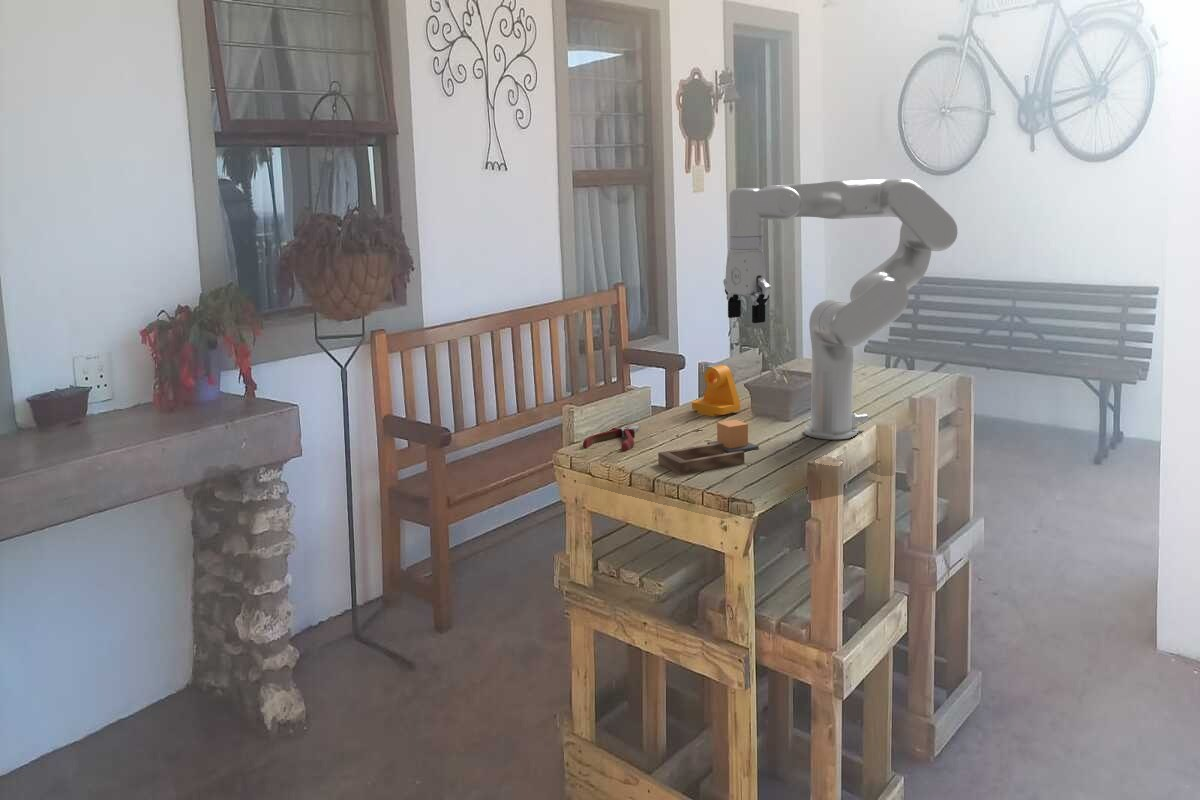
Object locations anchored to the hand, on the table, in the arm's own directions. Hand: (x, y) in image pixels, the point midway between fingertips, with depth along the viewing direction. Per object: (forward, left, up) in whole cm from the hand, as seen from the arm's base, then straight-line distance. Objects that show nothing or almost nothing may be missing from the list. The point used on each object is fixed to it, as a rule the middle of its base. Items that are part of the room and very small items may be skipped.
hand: (746, 319), depth 237 cm
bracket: (-8, -27, -29) cm, 40 cm away
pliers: (+25, -15, -29) cm, 41 cm away
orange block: (+6, +3, -28) cm, 29 cm away
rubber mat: (+6, +3, -28) cm, 29 cm away
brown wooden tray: (+19, +11, -28) cm, 36 cm away
